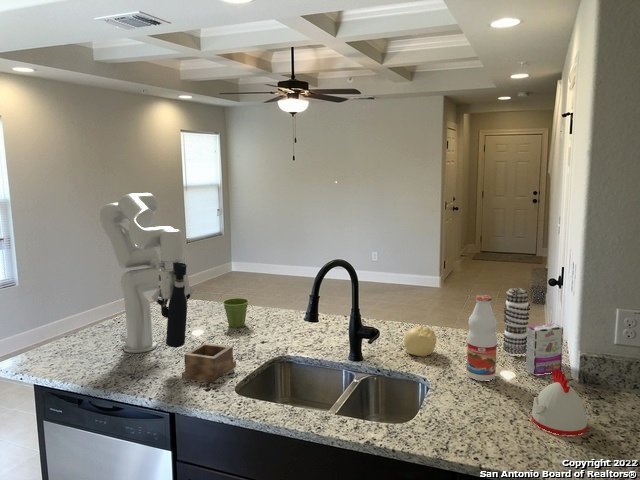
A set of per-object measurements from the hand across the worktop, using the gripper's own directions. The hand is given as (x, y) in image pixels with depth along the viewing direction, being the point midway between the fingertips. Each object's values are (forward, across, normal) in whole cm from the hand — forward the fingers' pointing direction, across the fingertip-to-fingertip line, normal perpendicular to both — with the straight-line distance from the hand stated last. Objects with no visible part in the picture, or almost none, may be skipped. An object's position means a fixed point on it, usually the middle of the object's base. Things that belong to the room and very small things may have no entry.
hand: (174, 314), depth 180 cm
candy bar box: (+18, +88, -94) cm, 130 cm away
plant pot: (+21, +44, +26) cm, 55 cm away
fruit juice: (+18, +70, -80) cm, 108 cm away
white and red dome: (+18, +56, -112) cm, 126 cm away
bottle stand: (+20, +7, -11) cm, 24 cm away
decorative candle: (+18, +99, -78) cm, 128 cm away
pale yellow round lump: (+19, +73, -53) cm, 92 cm away
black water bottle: (+11, 0, 0) cm, 11 cm away
